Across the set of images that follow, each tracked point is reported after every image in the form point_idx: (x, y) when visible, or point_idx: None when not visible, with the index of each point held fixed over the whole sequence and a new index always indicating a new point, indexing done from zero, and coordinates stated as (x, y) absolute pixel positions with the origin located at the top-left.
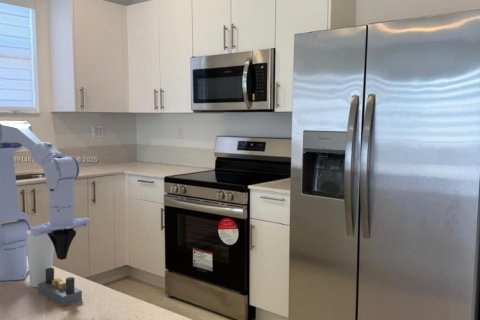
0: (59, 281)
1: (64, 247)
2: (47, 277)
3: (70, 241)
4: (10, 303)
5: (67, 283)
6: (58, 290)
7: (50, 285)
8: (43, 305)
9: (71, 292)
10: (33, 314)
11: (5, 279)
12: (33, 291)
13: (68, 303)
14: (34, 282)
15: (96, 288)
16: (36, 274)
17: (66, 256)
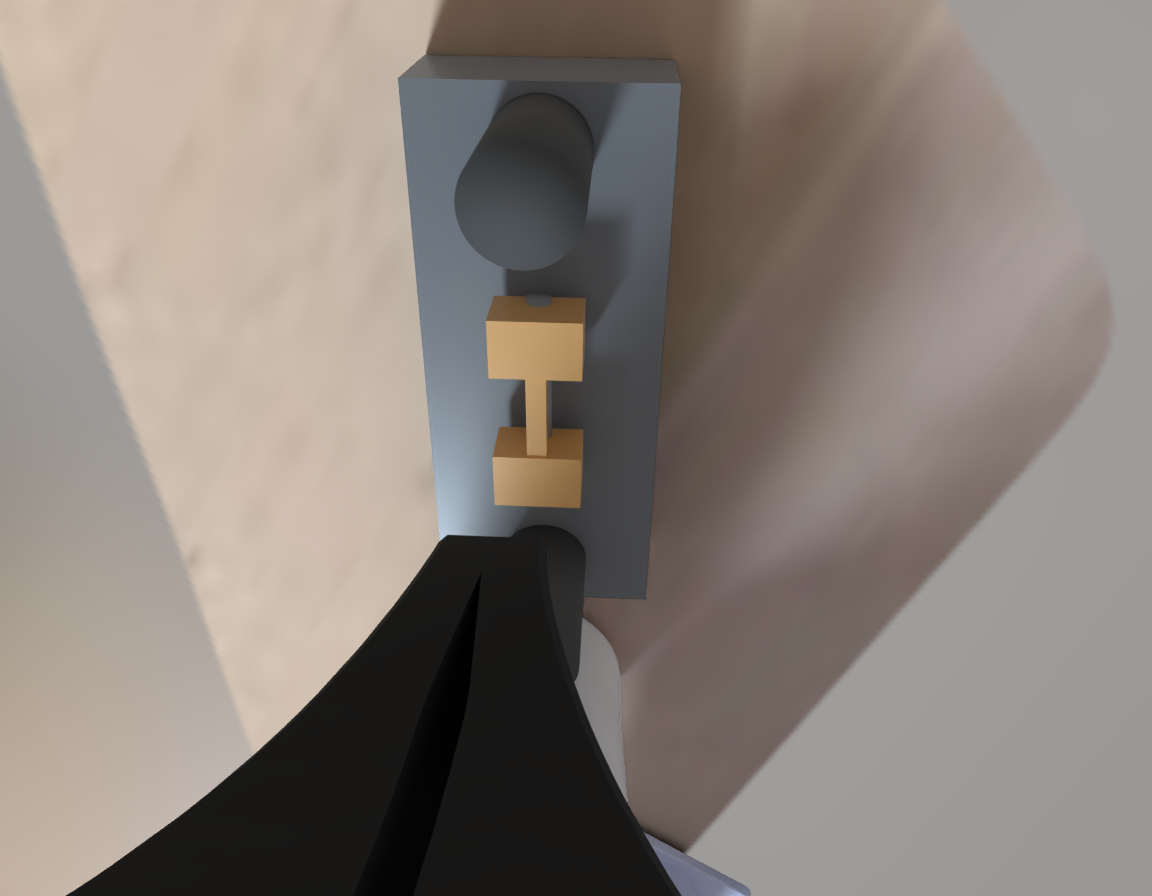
0: (543, 412)
1: (436, 723)
2: (579, 590)
3: (257, 791)
4: (930, 514)
5: (586, 166)
6: (605, 308)
7: (589, 484)
8: (784, 261)
9: (548, 97)
10: (993, 134)
11: (685, 861)
12: (652, 587)
13: (604, 62)
14: (610, 671)
15: (143, 227)
16: (598, 723)
17: (433, 555)
